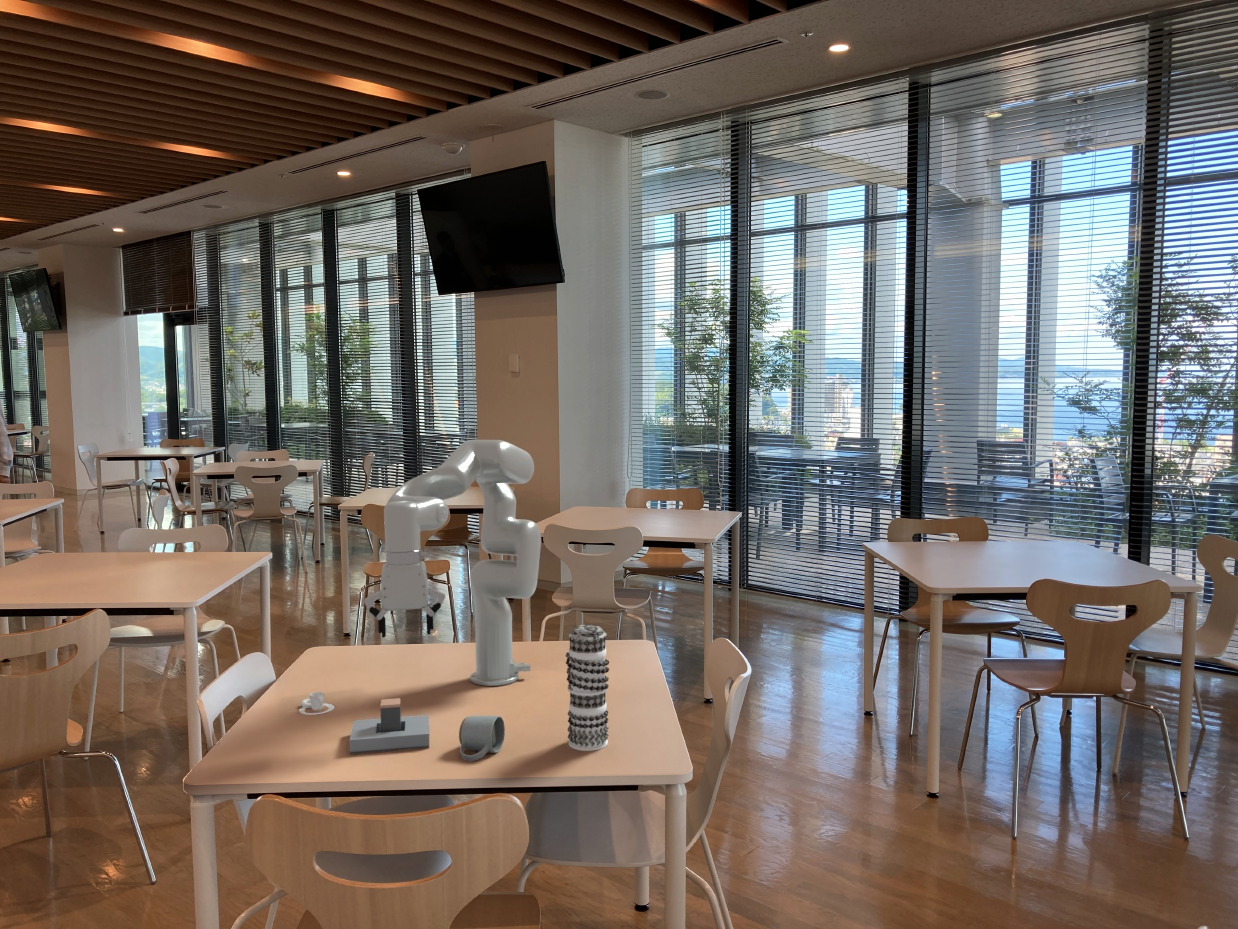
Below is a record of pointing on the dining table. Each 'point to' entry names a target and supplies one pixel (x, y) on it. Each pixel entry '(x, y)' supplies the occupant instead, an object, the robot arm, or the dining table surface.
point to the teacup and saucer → (315, 704)
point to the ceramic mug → (481, 735)
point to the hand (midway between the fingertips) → (406, 634)
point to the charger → (390, 715)
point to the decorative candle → (587, 688)
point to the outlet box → (389, 735)
